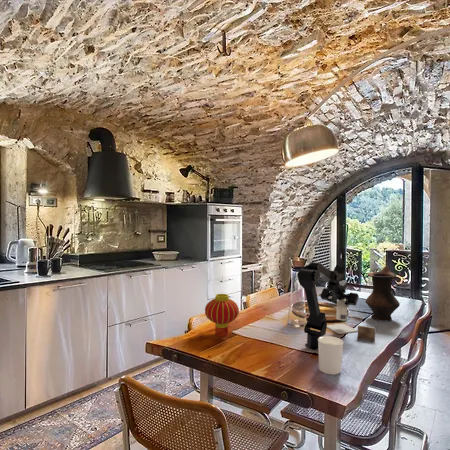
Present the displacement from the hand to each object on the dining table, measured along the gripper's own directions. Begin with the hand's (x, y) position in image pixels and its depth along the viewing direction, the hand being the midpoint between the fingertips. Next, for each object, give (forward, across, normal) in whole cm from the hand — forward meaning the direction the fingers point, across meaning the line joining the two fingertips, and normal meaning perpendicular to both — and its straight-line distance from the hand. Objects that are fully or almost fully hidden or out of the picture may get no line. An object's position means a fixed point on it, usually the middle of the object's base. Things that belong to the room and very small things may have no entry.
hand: (343, 305), depth 190 cm
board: (+8, 0, +10) cm, 13 cm away
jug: (+33, -11, -15) cm, 38 cm away
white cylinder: (-27, -15, +46) cm, 55 cm away
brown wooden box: (+4, -15, +14) cm, 20 cm away
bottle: (+4, 0, +6) cm, 7 cm away
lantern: (-26, +42, +45) cm, 67 cm away
